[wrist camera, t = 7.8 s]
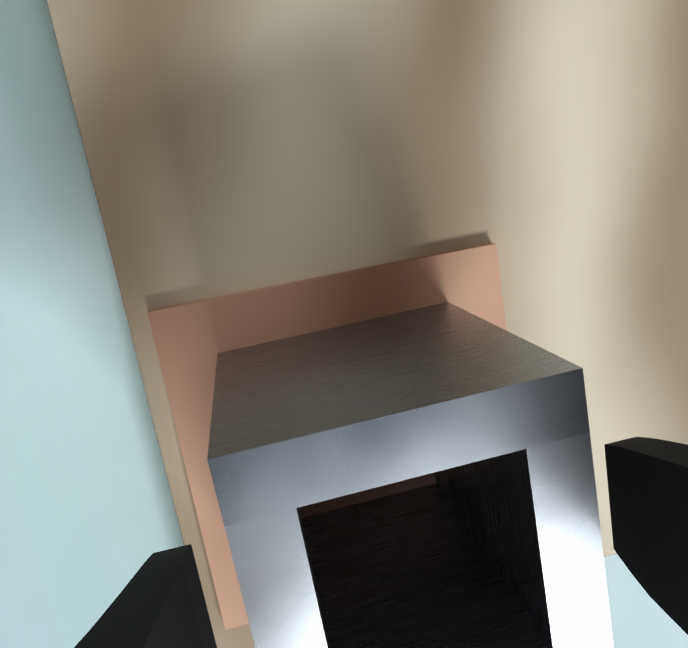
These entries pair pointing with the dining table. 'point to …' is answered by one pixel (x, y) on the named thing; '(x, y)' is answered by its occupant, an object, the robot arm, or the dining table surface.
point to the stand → (387, 198)
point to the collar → (416, 504)
